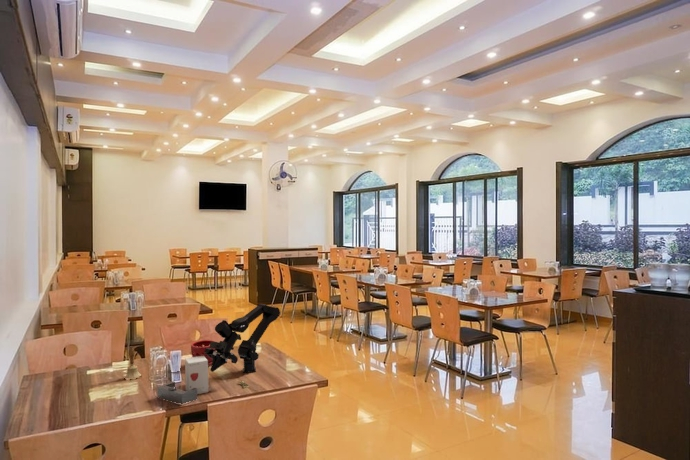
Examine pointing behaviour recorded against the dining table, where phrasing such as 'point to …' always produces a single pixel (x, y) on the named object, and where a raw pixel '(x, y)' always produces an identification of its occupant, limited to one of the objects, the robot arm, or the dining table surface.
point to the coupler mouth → (176, 393)
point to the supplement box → (196, 374)
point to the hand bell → (132, 366)
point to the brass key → (243, 384)
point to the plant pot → (201, 350)
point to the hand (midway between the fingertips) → (211, 371)
